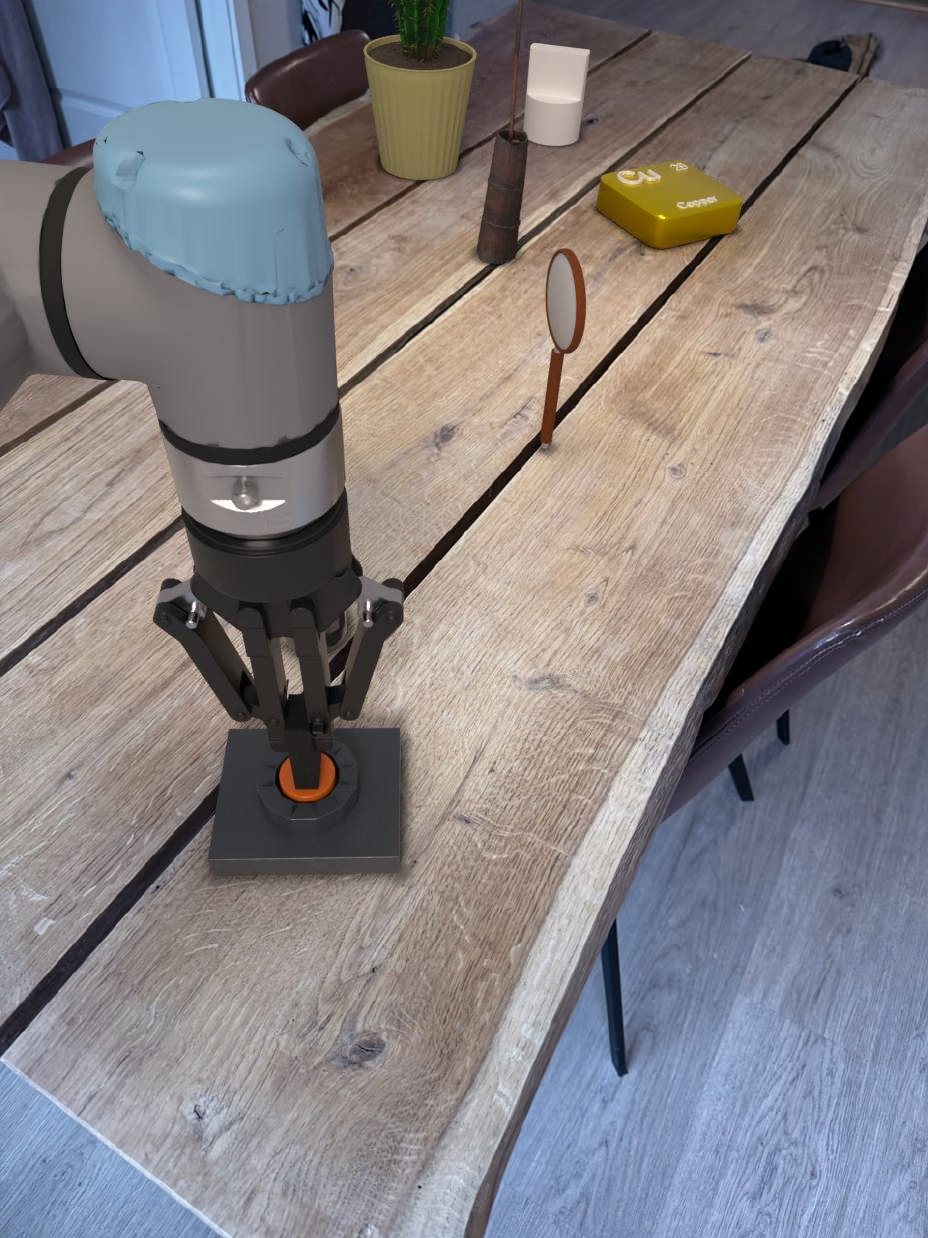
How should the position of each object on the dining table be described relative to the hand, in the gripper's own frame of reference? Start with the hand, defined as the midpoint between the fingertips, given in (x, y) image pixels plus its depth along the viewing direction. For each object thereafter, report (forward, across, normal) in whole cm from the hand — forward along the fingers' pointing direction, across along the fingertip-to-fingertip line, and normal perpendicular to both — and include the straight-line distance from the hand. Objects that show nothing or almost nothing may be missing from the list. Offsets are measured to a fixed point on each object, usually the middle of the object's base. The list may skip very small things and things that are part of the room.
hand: (308, 771), depth 59 cm
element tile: (+5, +42, +92) cm, 101 cm away
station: (+5, 0, 0) cm, 5 cm away
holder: (+5, -1, +16) cm, 17 cm away
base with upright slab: (+5, +29, +121) cm, 124 cm away
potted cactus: (+5, +8, +108) cm, 108 cm away
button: (+2, 0, 0) cm, 2 cm away
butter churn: (+5, +18, +79) cm, 81 cm away
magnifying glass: (+5, +20, +40) cm, 45 cm away
